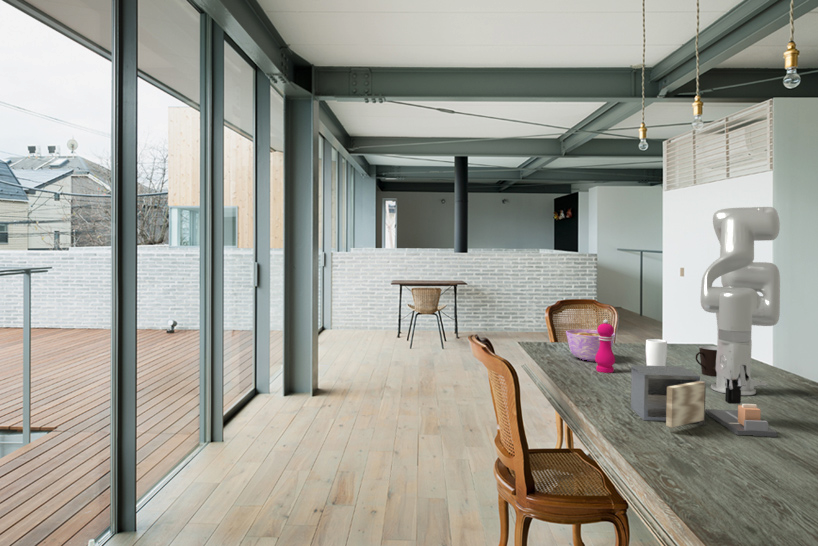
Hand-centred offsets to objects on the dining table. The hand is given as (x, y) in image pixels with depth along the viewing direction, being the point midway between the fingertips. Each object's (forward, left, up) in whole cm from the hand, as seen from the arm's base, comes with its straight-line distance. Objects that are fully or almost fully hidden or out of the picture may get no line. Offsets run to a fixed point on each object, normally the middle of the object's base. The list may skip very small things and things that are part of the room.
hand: (732, 402), depth 141 cm
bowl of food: (+21, -78, -5) cm, 81 cm away
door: (+16, +10, -5) cm, 19 cm away
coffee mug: (-17, -56, -5) cm, 58 cm away
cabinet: (+17, -2, -5) cm, 18 cm away
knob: (0, +9, -3) cm, 10 cm away
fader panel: (0, +4, -5) cm, 6 cm away
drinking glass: (+7, -39, -5) cm, 40 cm away
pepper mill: (+20, -56, -5) cm, 59 cm away
